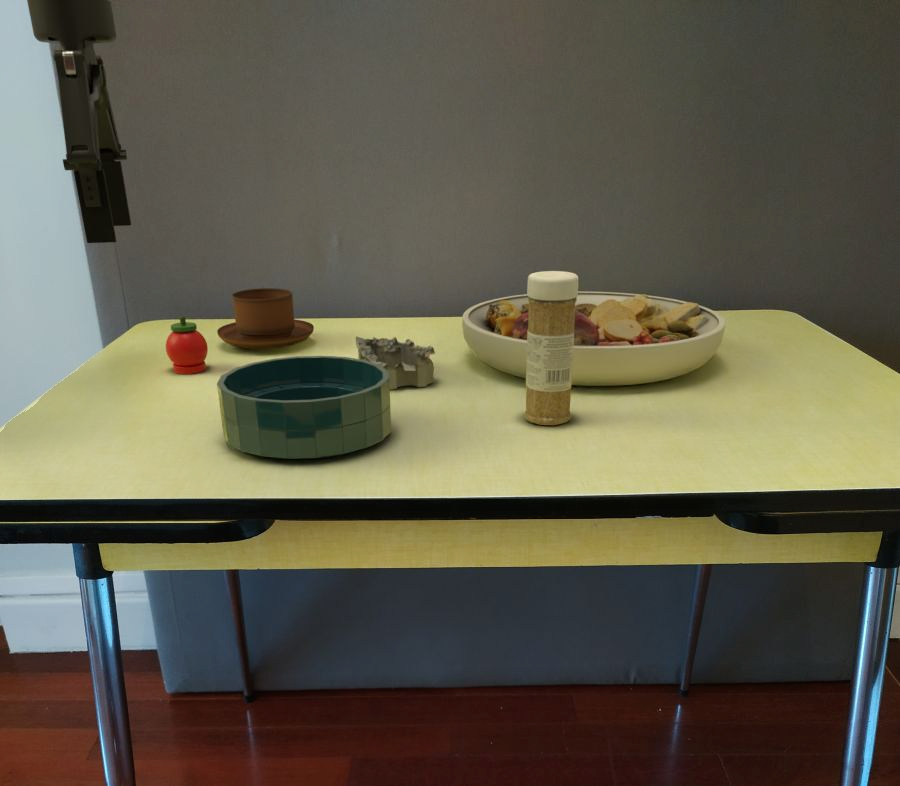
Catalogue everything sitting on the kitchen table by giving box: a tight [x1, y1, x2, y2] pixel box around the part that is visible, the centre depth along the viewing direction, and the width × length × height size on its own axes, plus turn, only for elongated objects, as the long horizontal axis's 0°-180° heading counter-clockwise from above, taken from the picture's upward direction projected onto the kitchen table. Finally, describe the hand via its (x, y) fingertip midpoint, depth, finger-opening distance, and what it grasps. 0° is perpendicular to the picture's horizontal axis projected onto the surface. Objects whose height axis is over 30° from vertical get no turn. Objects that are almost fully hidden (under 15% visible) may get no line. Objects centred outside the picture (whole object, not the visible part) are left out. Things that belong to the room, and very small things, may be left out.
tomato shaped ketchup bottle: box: [165, 315, 209, 375], centre depth 103 cm, size 5×5×6 cm
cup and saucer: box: [216, 287, 315, 350], centre depth 114 cm, size 12×12×6 cm
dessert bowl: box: [216, 355, 392, 460], centre depth 83 cm, size 15×15×6 cm
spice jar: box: [523, 270, 579, 426], centre depth 85 cm, size 5×5×13 cm
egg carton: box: [355, 335, 436, 391], centre depth 101 cm, size 11×8×4 cm
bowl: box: [461, 291, 726, 387], centre depth 106 cm, size 30×30×8 cm
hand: (110, 233), depth 96 cm, fingers open, 13 cm apart
